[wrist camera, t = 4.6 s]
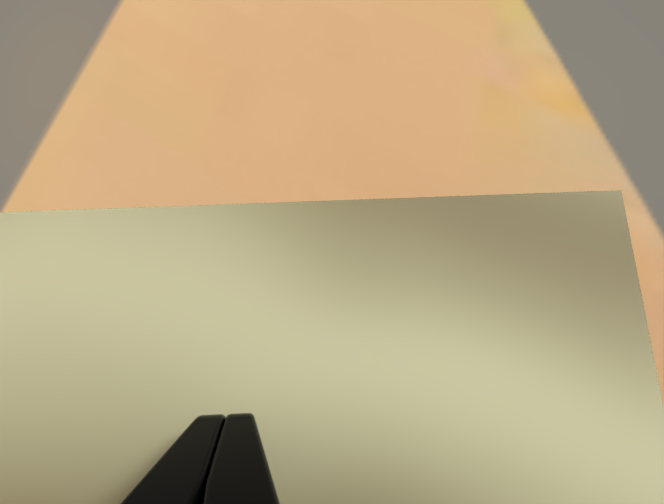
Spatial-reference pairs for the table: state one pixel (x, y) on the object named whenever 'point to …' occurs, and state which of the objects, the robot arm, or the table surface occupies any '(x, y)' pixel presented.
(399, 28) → the table surface
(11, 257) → the pale yellow square slab
